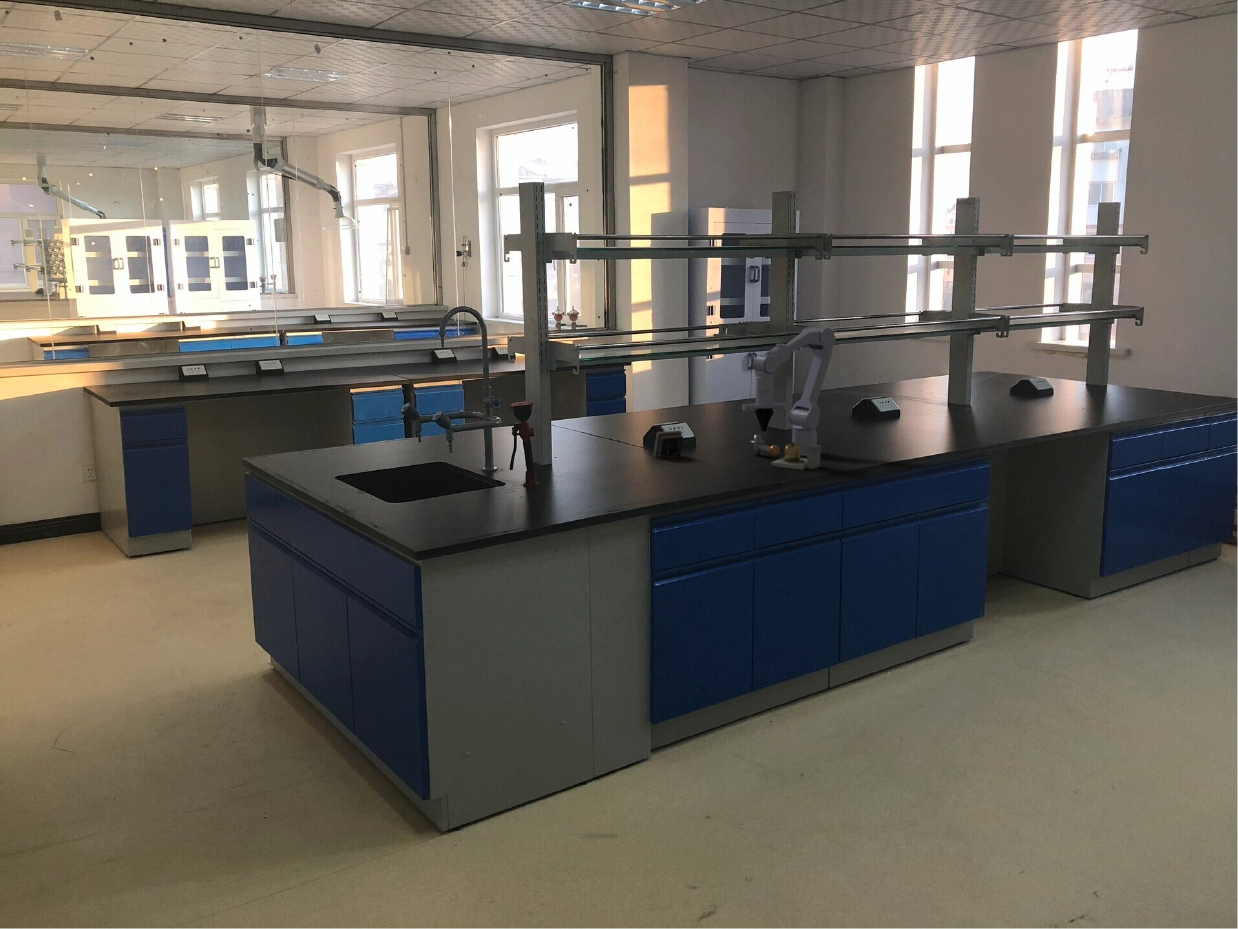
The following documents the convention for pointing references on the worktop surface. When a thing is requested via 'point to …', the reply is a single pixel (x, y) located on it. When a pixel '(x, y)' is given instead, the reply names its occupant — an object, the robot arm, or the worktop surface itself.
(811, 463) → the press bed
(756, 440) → the pivot post
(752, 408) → the robot arm
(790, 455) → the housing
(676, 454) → the electrical switch
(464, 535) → the worktop surface
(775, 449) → the lever
